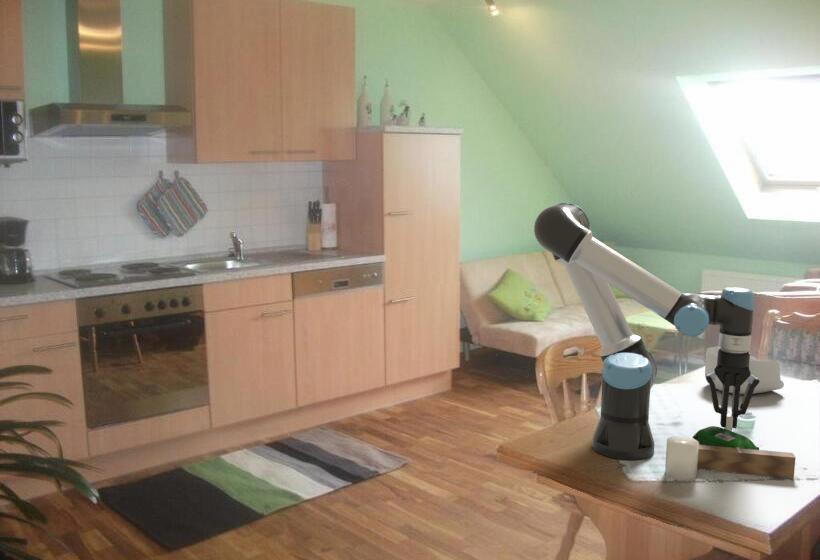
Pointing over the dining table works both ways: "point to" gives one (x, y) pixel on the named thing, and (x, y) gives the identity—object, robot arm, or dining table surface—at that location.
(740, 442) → the snack package
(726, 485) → the dining table surface
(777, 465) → the batten
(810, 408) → the dining table surface
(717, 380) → the bowl
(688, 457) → the white tall rounded block
